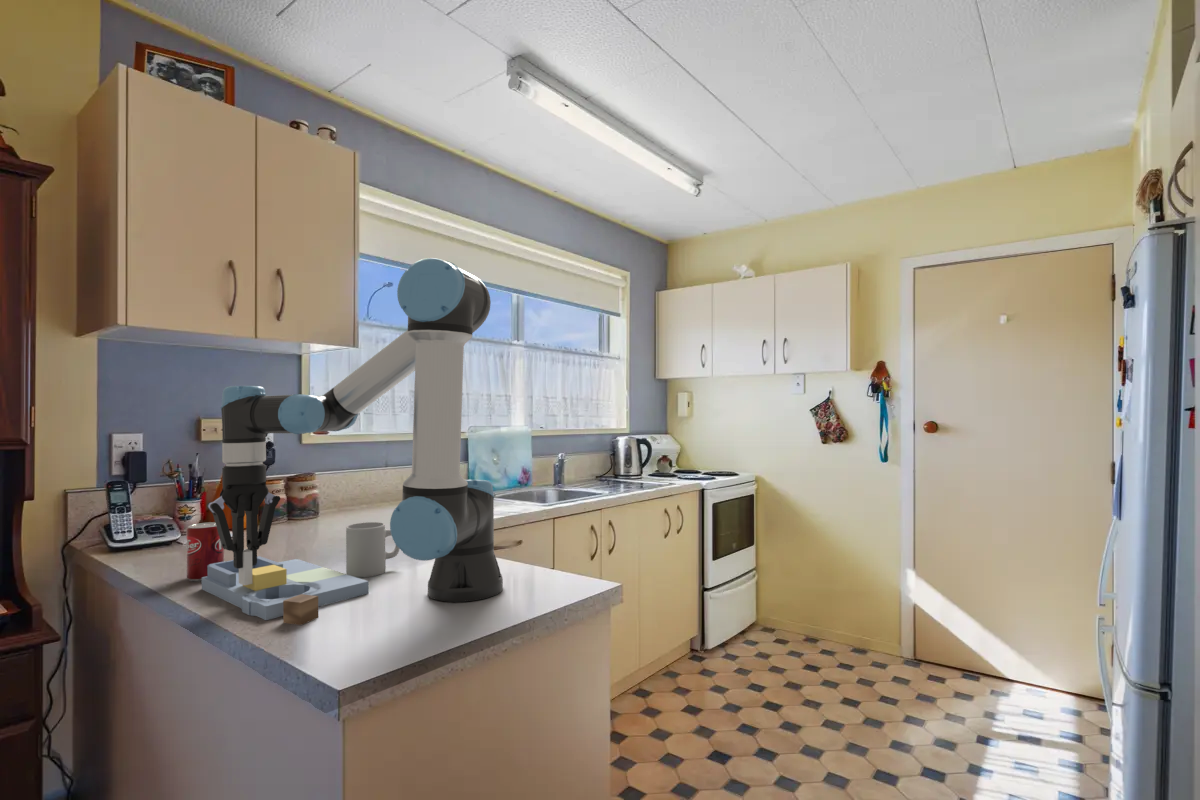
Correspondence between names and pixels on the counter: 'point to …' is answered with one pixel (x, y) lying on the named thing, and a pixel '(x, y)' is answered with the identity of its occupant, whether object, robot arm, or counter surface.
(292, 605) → the walnut block
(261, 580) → the block
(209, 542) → the soda can
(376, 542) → the mug
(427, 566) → the counter surface
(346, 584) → the board
